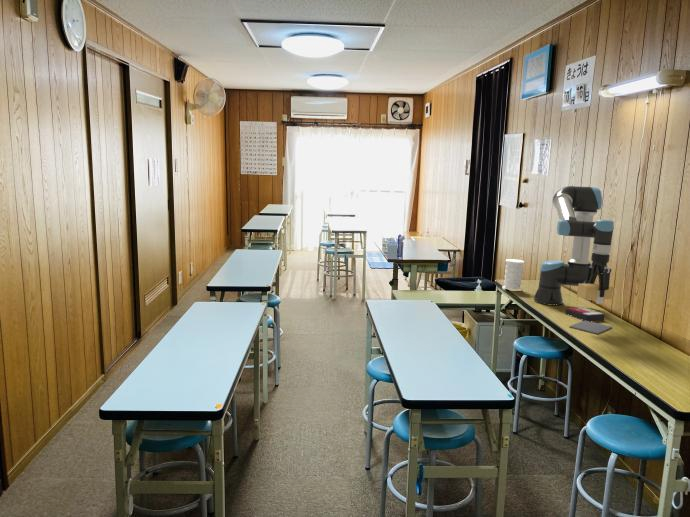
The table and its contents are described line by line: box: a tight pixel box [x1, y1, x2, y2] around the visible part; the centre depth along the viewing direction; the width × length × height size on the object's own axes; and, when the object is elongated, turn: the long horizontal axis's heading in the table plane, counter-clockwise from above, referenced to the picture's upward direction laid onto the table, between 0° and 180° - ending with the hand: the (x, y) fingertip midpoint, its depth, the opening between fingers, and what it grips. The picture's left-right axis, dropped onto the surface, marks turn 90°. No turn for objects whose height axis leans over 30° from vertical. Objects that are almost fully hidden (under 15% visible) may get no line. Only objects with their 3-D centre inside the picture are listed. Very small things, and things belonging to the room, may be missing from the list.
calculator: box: [565, 306, 606, 322], centre depth 273 cm, size 11×4×15 cm
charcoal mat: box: [569, 320, 613, 335], centre depth 255 cm, size 17×13×1 cm
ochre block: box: [576, 283, 614, 300], centre depth 252 cm, size 6×6×14 cm
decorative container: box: [501, 258, 525, 291], centre depth 327 cm, size 12×12×18 cm
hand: (594, 301), depth 253 cm, fingers closed on ochre block, 6 cm apart
